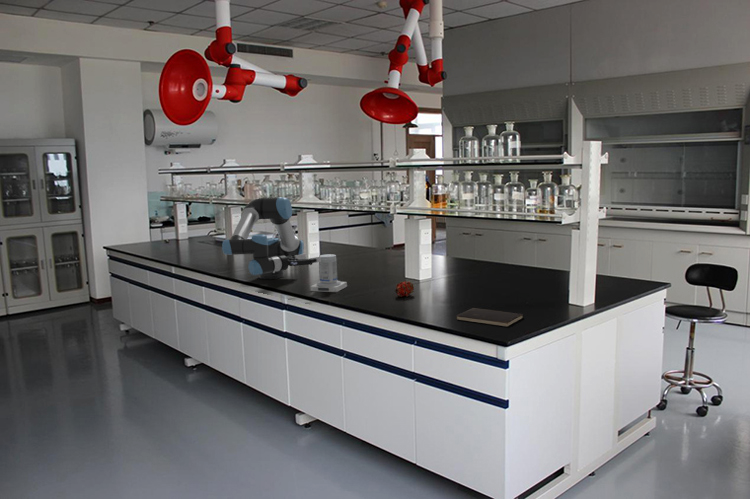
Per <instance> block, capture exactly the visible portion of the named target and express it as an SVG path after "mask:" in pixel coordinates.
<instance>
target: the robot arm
mask: <svg viewBox="0 0 750 499" xmlns="http://www.w3.org/2000/svg"><path fill="white" fill-rule="evenodd" d="M240 216H241V217H240V219H239V221H238V223H237V225H236V227H235V229H234V231H233V233H232V235H231V237H230V239H229V238H228V239H227V238H226V239H224V240H223V241H222V245H221V246H222V247H221V249H222V253H223V254H224V255H227V256H228V255H231V256H233V255H234V256H235V255H237V256H239V255H252V260H250V261H249V262H248V266H247V267H248V271H249V273H250V274H251V275H253V276H257V275H258V278H259V279H261V280H273V279H276V280H277V279H280V278H284V276H285V272H284V271H286V270H288V268H289V267H297V266H307V265H308V266H309V265H310V266H312V265H313V264H317V263H319V262H321V257H319V256H315V257H310V258H307V256H306V255H307V254H306V253H304V249H305V248H304V247H305V245H304V244H305V243H304V240H302V239H299V238H298V237H297V236H296V235H295V232H294V228H293V226H292V223H291V217H292V216H293V207H292V203H291V200H290V199H289V198H288V197H281V196H279V197H277V196H276V197H259V198H256V199H253V200H251V201H250V202H248V203H247V204H246V205H245V206H244V207H243V208H242V211H241V214H240ZM259 220H269V221H270V222H271V223H272V224H273V225H274V226H275V228H276V231H277V234H278V236H279V238H275V237H274V238H269V239H268V237H267V235H266V234H264V233H263V234H252V236H251V238H249V236H250V234H251V232H252V229H253V227H254V225H255V223H257V222H258V221H259Z"/></svg>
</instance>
